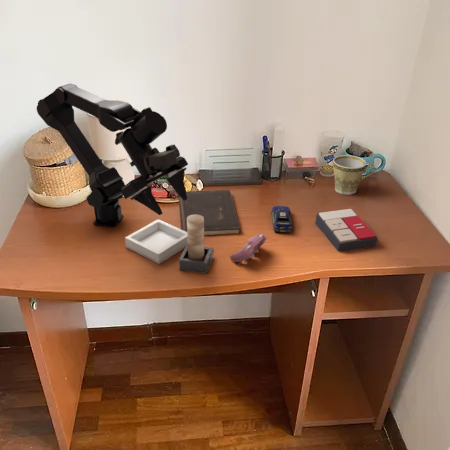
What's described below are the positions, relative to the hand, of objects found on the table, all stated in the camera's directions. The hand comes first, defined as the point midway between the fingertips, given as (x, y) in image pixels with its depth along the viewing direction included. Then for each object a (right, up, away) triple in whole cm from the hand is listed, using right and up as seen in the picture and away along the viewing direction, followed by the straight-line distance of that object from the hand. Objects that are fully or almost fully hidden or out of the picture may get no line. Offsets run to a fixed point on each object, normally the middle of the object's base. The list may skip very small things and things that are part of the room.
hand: (173, 206), depth 121 cm
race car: (+28, -4, +20) cm, 35 cm away
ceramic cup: (+52, +6, +37) cm, 64 cm away
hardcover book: (+7, -2, +23) cm, 24 cm away
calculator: (+45, -7, +14) cm, 48 cm away
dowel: (+5, -14, +2) cm, 15 cm away
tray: (-5, -10, +8) cm, 14 cm away
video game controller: (+19, -12, +5) cm, 23 cm away
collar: (+5, -14, +2) cm, 15 cm away
